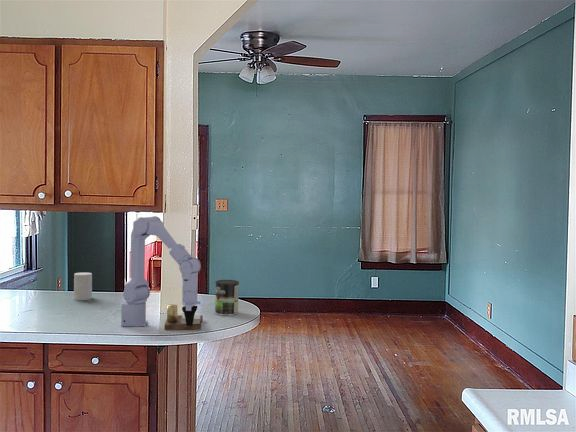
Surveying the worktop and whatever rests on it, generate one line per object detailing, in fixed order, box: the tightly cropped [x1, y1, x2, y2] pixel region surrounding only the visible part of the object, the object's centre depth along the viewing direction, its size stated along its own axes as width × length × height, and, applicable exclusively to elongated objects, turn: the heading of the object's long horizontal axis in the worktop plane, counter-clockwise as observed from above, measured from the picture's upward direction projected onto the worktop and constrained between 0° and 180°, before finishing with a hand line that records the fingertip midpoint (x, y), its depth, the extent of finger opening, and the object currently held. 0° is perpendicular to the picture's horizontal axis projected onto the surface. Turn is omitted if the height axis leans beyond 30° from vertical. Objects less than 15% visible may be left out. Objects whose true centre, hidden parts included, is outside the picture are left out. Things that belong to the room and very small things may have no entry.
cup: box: [73, 272, 93, 301], centre depth 295 cm, size 8×8×12 cm
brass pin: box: [166, 304, 178, 323], centre depth 244 cm, size 4×4×6 cm
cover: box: [181, 314, 201, 324], centre depth 244 cm, size 7×7×2 cm
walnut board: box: [163, 314, 203, 331], centre depth 248 cm, size 14×16×2 cm
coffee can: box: [214, 279, 240, 317], centre depth 270 cm, size 10×10×14 cm
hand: (189, 325), depth 235 cm, fingers closed
